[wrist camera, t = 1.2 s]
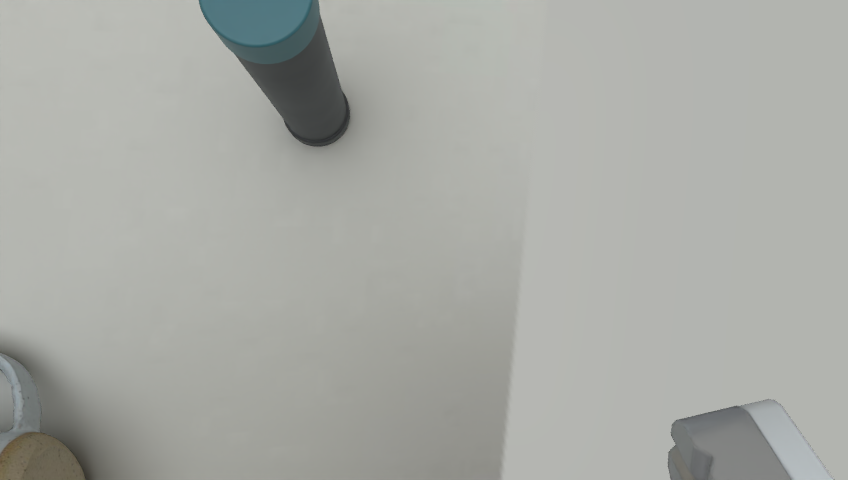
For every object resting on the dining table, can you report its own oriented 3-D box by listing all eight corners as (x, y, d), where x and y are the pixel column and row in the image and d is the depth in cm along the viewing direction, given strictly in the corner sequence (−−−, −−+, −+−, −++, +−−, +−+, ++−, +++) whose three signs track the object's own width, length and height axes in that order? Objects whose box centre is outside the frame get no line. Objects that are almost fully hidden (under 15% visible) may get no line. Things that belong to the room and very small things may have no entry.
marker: (356, 139, 28) (326, 36, 15) (292, 152, 28) (208, 59, 15) (342, 76, 28) (301, -80, 15) (279, 89, 28) (183, -57, 15)
